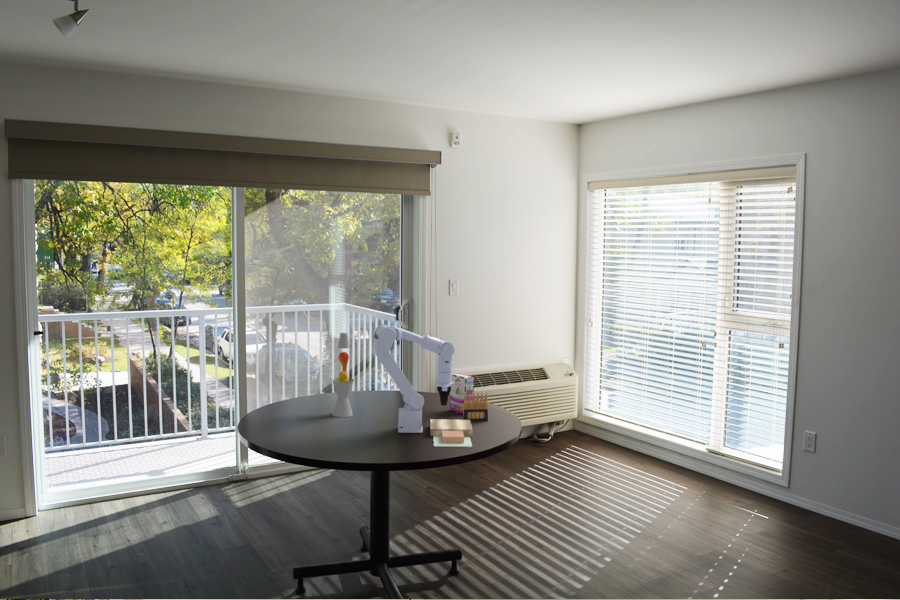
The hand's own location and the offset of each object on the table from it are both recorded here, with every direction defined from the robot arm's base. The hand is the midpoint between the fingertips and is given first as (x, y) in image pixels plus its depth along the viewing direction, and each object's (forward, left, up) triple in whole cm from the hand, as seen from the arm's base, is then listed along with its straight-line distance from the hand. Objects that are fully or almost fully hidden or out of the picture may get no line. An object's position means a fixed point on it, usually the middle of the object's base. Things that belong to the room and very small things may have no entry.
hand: (443, 405), depth 255 cm
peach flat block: (+3, -17, -9) cm, 19 cm away
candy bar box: (+9, +26, -10) cm, 29 cm away
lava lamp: (-42, +18, -10) cm, 47 cm away
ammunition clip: (+14, +12, -10) cm, 21 cm away
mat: (+3, -19, -9) cm, 21 cm away
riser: (+3, -5, -9) cm, 11 cm away
